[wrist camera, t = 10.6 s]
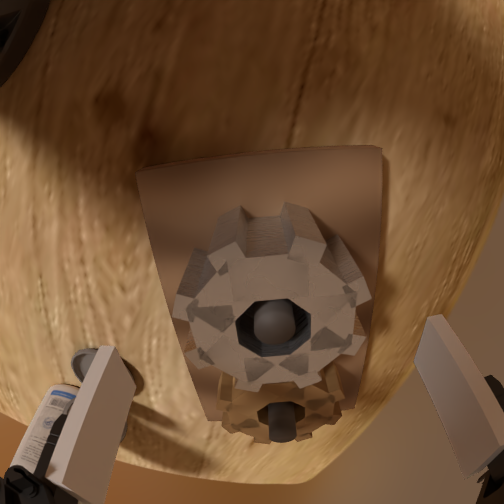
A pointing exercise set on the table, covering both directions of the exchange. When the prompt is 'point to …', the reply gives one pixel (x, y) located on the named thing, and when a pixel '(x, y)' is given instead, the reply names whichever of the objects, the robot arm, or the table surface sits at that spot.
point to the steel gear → (271, 298)
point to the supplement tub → (43, 425)
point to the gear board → (261, 196)
